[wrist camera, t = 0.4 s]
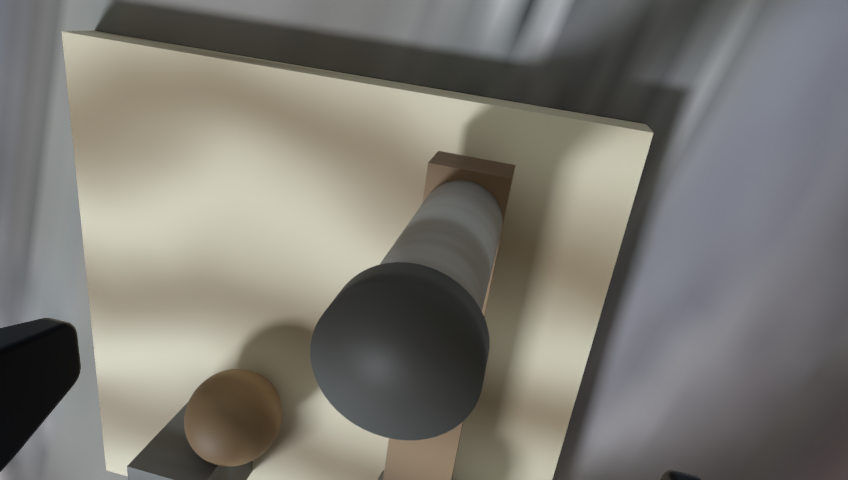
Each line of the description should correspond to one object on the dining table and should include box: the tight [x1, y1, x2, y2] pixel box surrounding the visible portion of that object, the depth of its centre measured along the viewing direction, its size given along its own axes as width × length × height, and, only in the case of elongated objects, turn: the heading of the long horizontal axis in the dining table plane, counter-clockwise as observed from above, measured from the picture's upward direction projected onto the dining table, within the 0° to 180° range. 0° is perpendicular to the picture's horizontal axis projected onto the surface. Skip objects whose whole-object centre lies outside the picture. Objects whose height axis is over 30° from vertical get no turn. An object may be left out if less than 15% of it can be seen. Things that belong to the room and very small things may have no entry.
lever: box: [310, 151, 515, 480], centre depth 17 cm, size 16×4×10 cm, turn 172°
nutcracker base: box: [62, 31, 653, 480], centre depth 21 cm, size 20×20×6 cm
